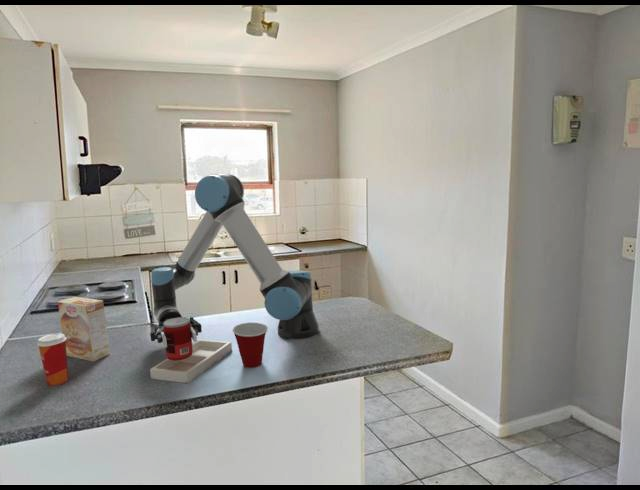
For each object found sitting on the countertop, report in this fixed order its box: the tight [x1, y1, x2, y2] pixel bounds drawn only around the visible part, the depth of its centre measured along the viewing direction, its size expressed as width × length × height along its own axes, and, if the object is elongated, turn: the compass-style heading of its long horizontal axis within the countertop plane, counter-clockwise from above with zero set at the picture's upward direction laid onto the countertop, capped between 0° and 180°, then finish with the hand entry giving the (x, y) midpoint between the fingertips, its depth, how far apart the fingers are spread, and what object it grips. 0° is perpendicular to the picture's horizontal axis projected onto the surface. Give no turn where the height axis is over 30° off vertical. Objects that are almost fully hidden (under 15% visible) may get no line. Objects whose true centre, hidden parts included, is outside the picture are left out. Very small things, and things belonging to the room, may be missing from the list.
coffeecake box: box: [57, 296, 111, 362], centre depth 160 cm, size 15×7×20 cm, turn 62°
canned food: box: [163, 316, 193, 361], centre depth 142 cm, size 8×8×11 cm
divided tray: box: [149, 338, 233, 384], centre depth 149 cm, size 25×13×3 cm, turn 160°
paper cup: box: [36, 333, 69, 387], centre depth 140 cm, size 8×8×14 cm
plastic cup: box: [232, 322, 269, 369], centre depth 145 cm, size 11×11×12 cm
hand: (180, 340), depth 137 cm, fingers closed on canned food, 8 cm apart
